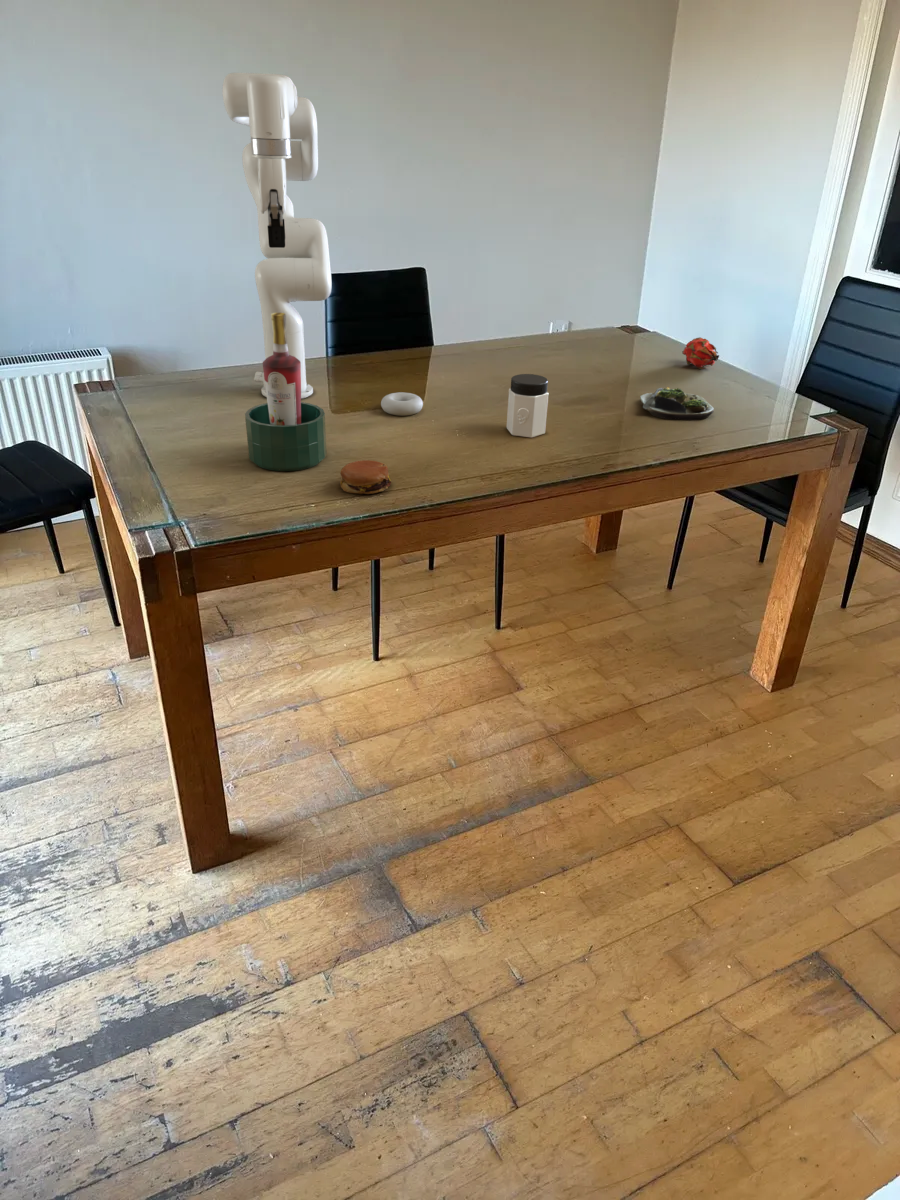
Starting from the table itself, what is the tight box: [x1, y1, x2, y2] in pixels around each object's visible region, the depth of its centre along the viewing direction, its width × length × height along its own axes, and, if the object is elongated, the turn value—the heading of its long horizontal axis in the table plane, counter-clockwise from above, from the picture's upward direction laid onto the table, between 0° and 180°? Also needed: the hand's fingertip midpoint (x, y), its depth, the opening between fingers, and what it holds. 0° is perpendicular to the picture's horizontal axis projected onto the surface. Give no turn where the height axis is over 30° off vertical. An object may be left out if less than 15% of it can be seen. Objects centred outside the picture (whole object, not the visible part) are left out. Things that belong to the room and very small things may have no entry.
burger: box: [339, 459, 392, 495], centre depth 166 cm, size 10×9×5 cm
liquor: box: [261, 313, 302, 425], centre depth 172 cm, size 7×7×28 cm
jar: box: [506, 373, 549, 439], centre depth 194 cm, size 9×8×12 cm
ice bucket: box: [244, 401, 327, 472], centre depth 177 cm, size 16×16×10 cm
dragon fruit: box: [681, 336, 720, 370], centre depth 248 cm, size 8×8×12 cm
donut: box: [380, 391, 424, 417], centre depth 207 cm, size 10×4×10 cm
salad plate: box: [640, 386, 715, 421], centre depth 215 cm, size 19×18×5 cm
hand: (277, 243), depth 177 cm, fingers open, 9 cm apart
